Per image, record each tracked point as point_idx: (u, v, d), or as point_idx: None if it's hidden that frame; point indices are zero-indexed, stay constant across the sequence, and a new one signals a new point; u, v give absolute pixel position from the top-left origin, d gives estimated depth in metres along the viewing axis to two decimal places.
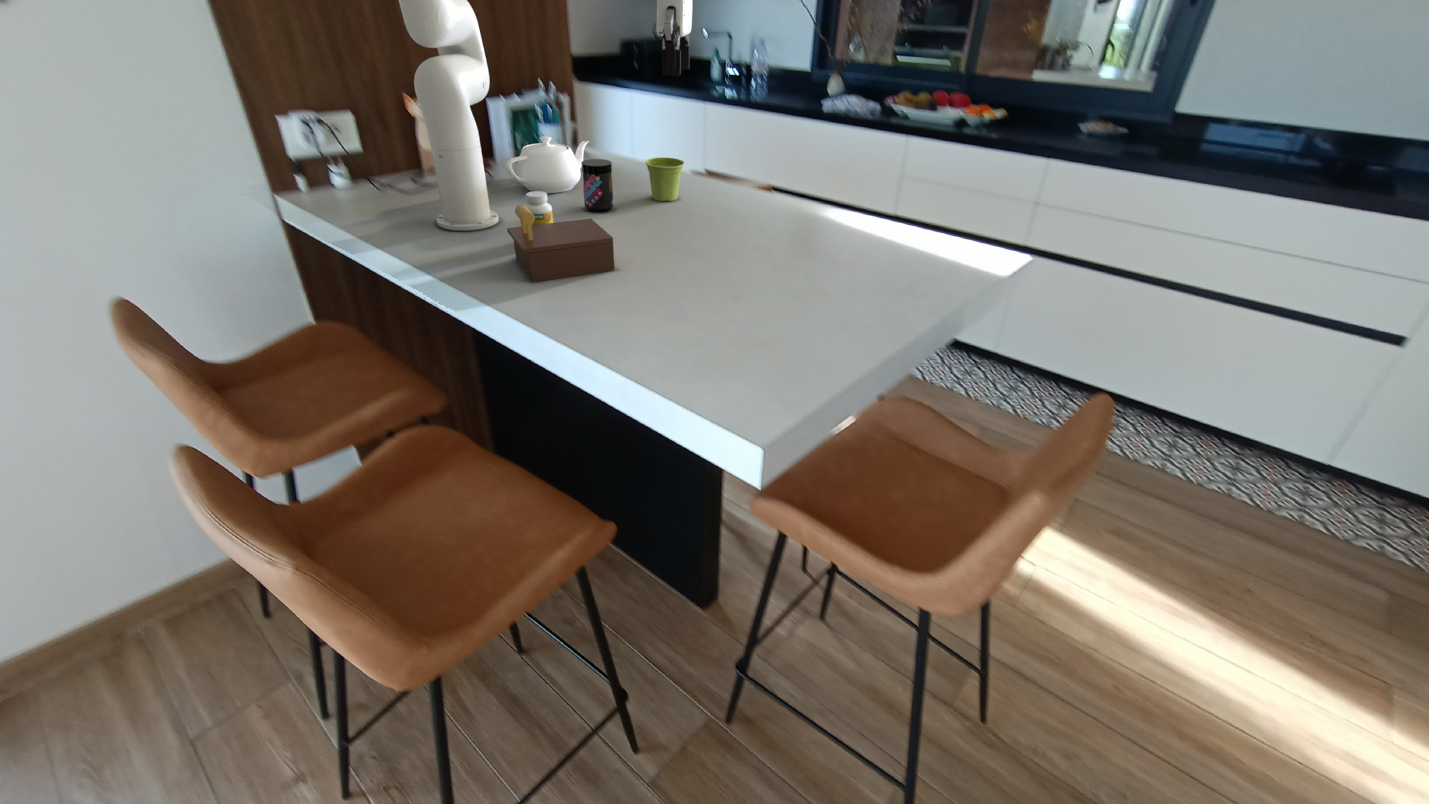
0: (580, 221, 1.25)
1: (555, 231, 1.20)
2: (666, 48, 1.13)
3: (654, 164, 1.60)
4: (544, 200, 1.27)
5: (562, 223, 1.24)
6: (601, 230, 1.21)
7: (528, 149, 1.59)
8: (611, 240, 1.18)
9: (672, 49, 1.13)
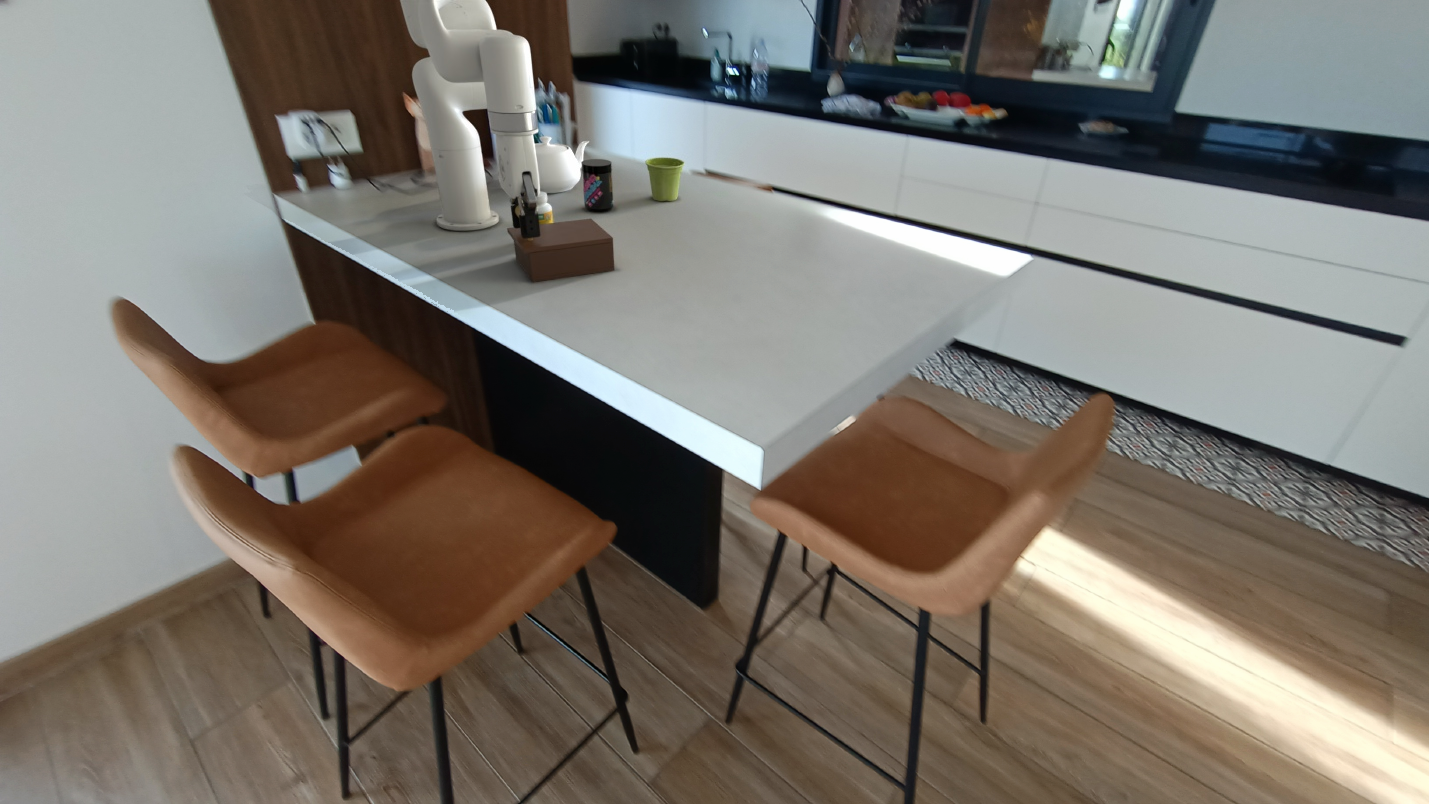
0: (580, 221, 1.25)
1: (555, 231, 1.20)
2: (526, 215, 1.11)
3: (654, 164, 1.60)
4: (544, 200, 1.27)
5: (562, 223, 1.24)
6: (601, 230, 1.21)
7: None
8: (611, 240, 1.18)
9: (532, 215, 1.11)
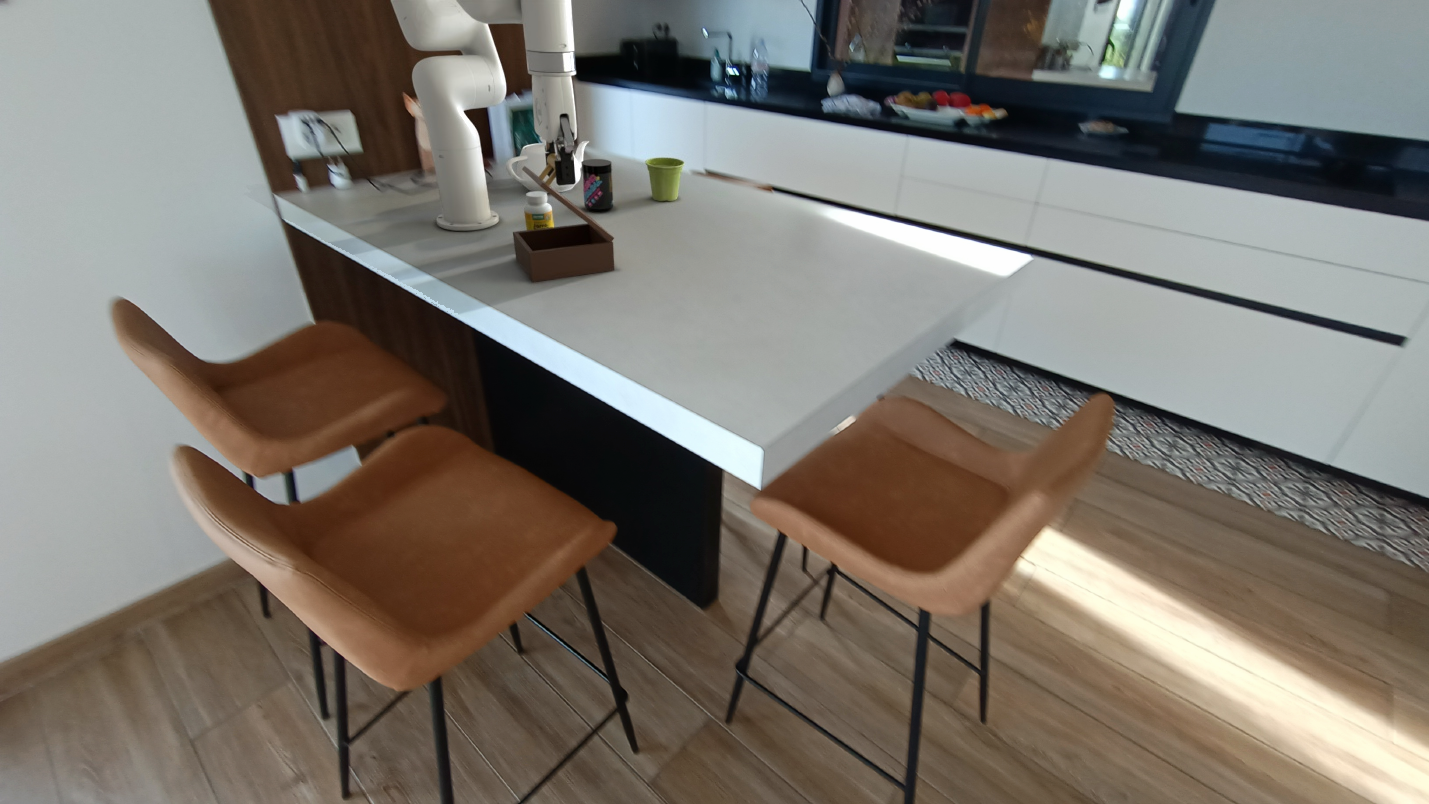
0: None
1: (566, 199, 1.18)
2: (562, 160, 1.09)
3: (654, 164, 1.61)
4: (544, 200, 1.27)
5: None
6: (603, 228, 1.21)
7: (528, 149, 1.59)
8: (611, 239, 1.18)
9: (568, 160, 1.10)
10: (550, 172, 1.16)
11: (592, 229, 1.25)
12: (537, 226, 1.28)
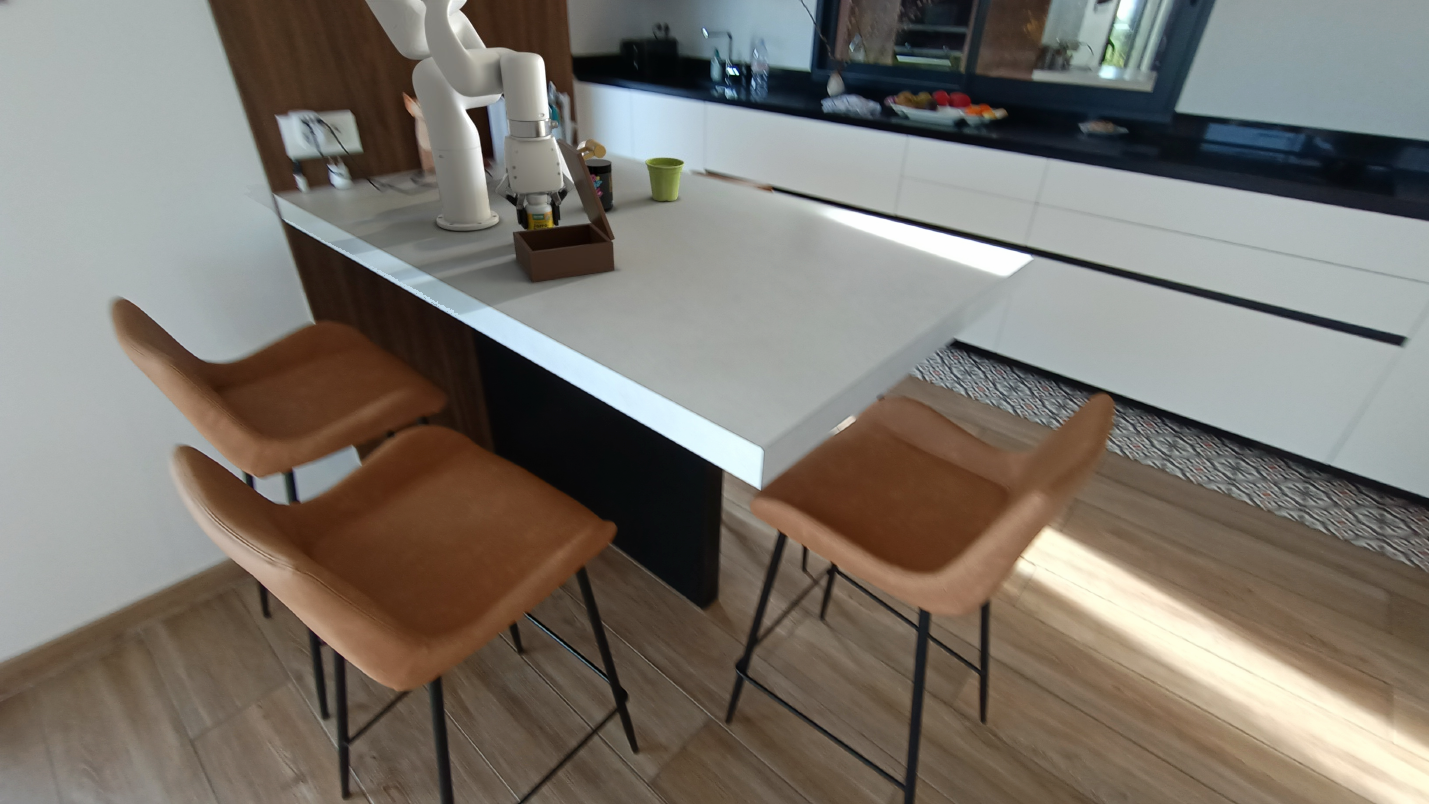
0: None
1: None
2: None
3: (654, 164, 1.61)
4: (544, 200, 1.27)
5: None
6: None
7: None
8: (612, 238, 1.18)
9: (516, 207, 1.26)
10: None
11: (592, 229, 1.25)
12: (537, 226, 1.28)
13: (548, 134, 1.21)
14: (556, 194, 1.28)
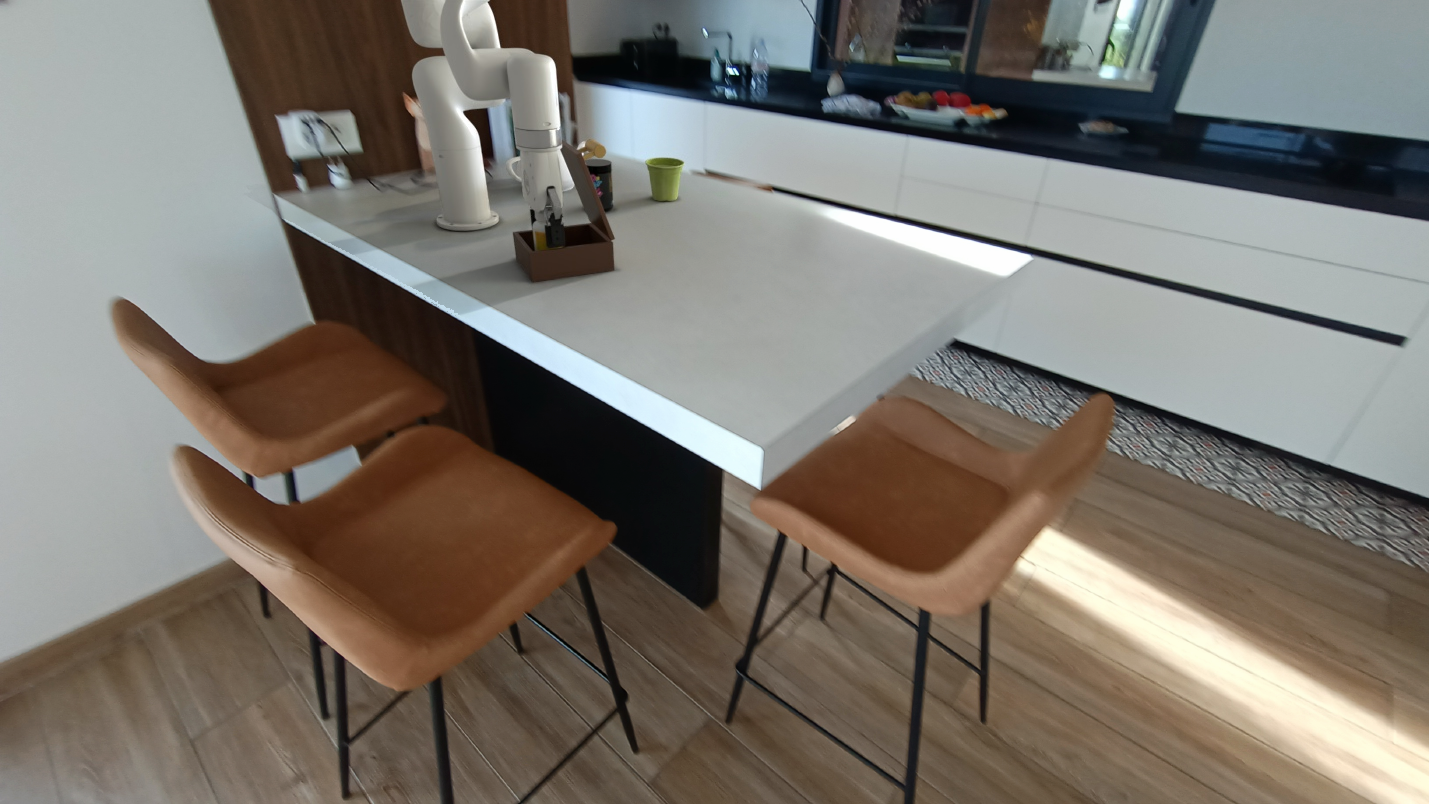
0: None
1: None
2: (552, 225, 1.12)
3: (654, 164, 1.61)
4: None
5: None
6: None
7: None
8: (612, 238, 1.18)
9: (558, 225, 1.12)
10: None
11: (592, 229, 1.25)
12: None
13: None
14: None
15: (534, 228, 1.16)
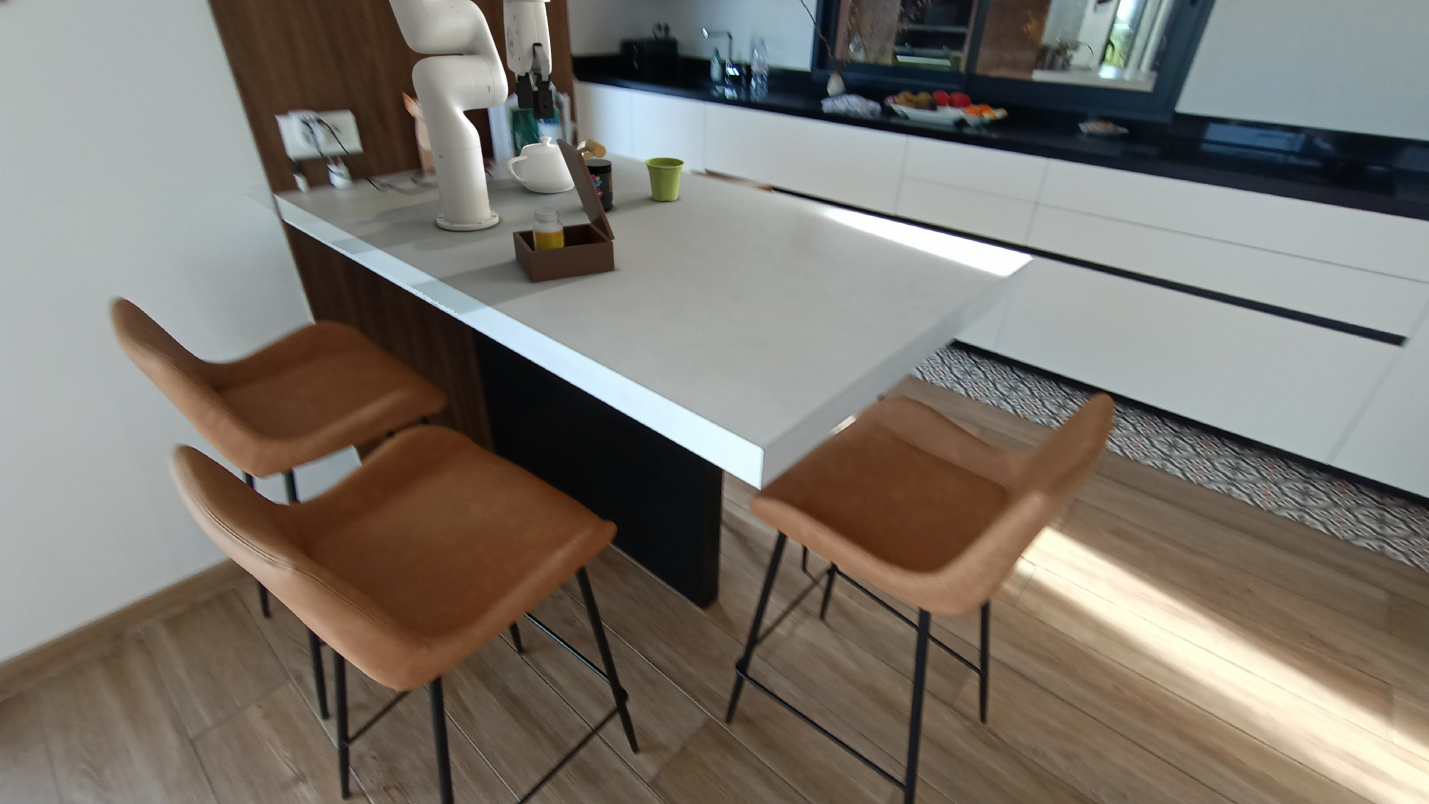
0: None
1: None
2: (539, 90, 1.00)
3: (654, 164, 1.61)
4: None
5: None
6: None
7: (528, 149, 1.59)
8: (612, 238, 1.18)
9: (545, 90, 1.01)
10: (521, 103, 1.10)
11: (592, 229, 1.25)
12: None
13: None
14: None
15: (534, 228, 1.16)
